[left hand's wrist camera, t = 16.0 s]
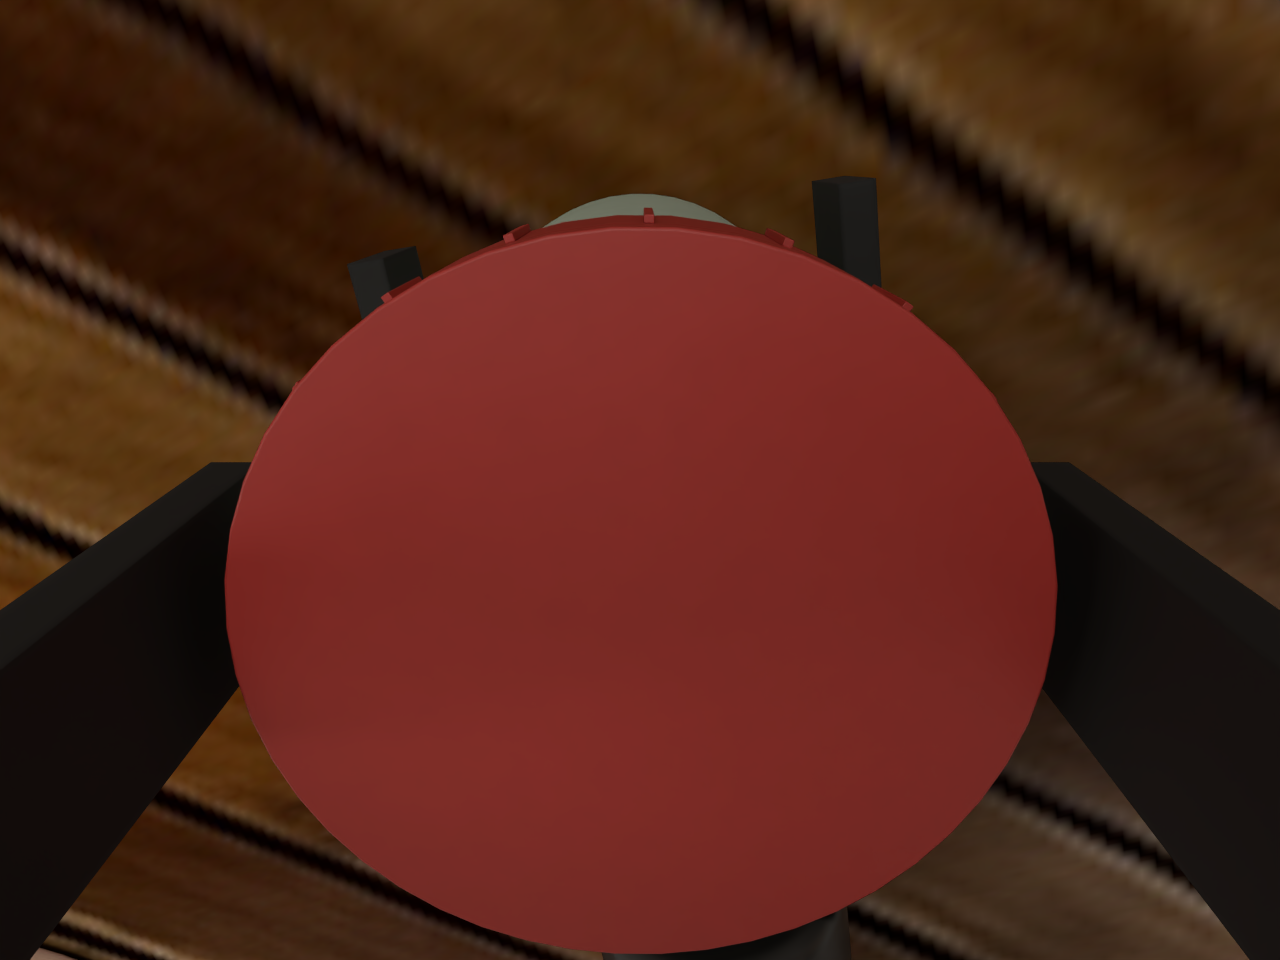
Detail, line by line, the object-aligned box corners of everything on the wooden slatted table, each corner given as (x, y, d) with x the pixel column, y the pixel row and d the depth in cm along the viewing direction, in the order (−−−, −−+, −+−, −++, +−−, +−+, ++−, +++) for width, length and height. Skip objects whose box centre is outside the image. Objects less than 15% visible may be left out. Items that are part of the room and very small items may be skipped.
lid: (129, 484, 11) (30, 545, 10) (769, 25, 9) (799, -7, 8) (555, 938, 14) (543, 1051, 12) (1108, 663, 12) (1189, 750, 11)
